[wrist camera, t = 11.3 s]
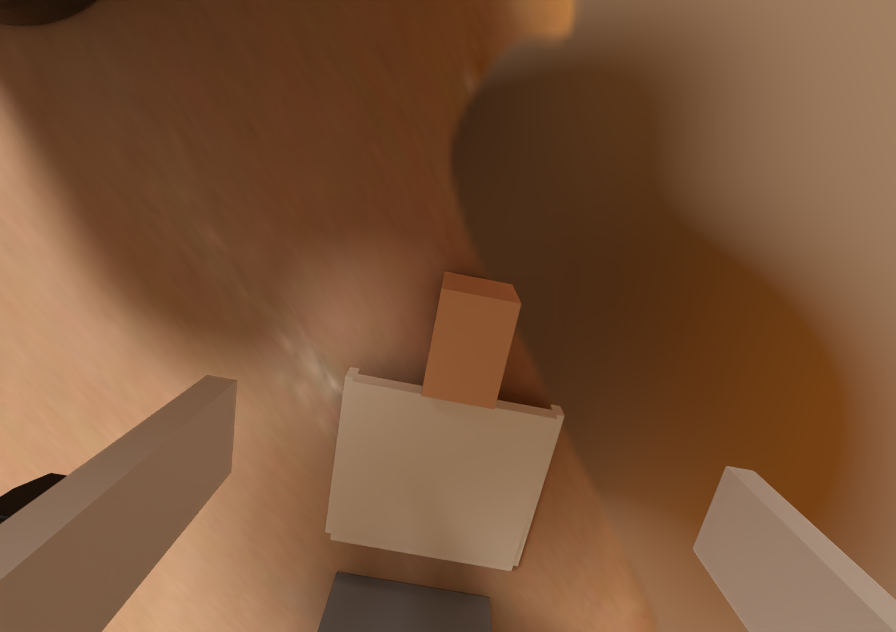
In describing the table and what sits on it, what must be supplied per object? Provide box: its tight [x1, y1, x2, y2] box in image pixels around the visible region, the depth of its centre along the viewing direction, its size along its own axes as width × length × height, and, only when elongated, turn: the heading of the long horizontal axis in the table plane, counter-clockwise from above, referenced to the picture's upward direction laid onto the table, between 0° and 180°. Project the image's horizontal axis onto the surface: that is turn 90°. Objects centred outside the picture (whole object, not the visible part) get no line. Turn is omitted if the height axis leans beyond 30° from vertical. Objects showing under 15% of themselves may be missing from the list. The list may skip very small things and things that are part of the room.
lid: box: [325, 271, 564, 571], centre depth 26 cm, size 18×13×4 cm
